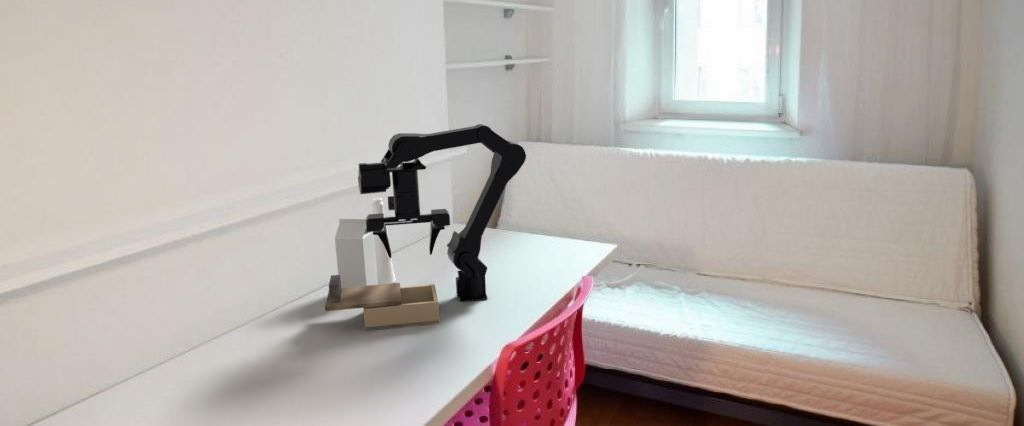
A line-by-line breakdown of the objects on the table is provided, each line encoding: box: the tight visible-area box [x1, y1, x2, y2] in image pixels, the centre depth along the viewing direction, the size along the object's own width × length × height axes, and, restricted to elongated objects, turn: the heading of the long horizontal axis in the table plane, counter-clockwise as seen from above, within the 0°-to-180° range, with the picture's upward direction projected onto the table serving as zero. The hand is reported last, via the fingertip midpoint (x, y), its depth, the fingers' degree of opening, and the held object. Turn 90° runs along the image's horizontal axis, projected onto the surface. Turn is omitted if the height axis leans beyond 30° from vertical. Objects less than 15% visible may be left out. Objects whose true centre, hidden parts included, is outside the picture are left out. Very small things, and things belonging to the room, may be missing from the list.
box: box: [362, 283, 441, 332], centre depth 161 cm, size 16×12×5 cm
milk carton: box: [334, 218, 378, 288], centre depth 176 cm, size 7×7×19 cm
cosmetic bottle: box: [372, 197, 397, 285], centre depth 184 cm, size 6×6×22 cm
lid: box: [324, 274, 401, 312], centre depth 159 cm, size 16×12×5 cm
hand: (410, 256), depth 166 cm, fingers open, 9 cm apart
